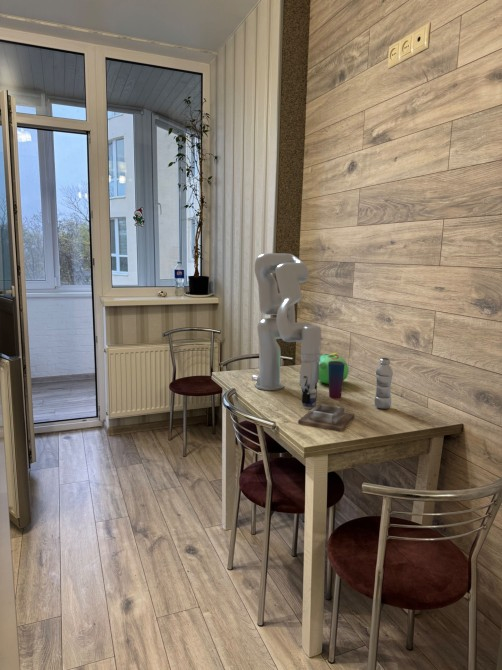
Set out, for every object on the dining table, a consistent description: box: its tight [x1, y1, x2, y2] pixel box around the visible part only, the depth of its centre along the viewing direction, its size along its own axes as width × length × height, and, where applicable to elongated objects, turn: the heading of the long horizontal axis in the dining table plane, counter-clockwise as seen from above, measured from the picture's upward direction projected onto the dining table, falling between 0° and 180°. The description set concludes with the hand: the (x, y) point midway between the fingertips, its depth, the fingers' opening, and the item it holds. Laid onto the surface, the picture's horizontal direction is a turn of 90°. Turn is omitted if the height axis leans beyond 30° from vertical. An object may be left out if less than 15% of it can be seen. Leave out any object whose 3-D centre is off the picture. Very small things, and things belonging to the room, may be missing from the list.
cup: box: [328, 361, 345, 399], centre depth 200 cm, size 7×7×15 cm
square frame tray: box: [297, 403, 355, 432], centre depth 173 cm, size 16×16×4 cm
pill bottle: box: [301, 385, 317, 410], centre depth 187 cm, size 5×5×10 cm
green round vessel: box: [318, 352, 350, 385], centre depth 221 cm, size 18×17×15 cm
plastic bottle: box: [373, 357, 394, 410], centre depth 186 cm, size 6×7×20 cm
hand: (309, 400), depth 188 cm, fingers open, 6 cm apart
